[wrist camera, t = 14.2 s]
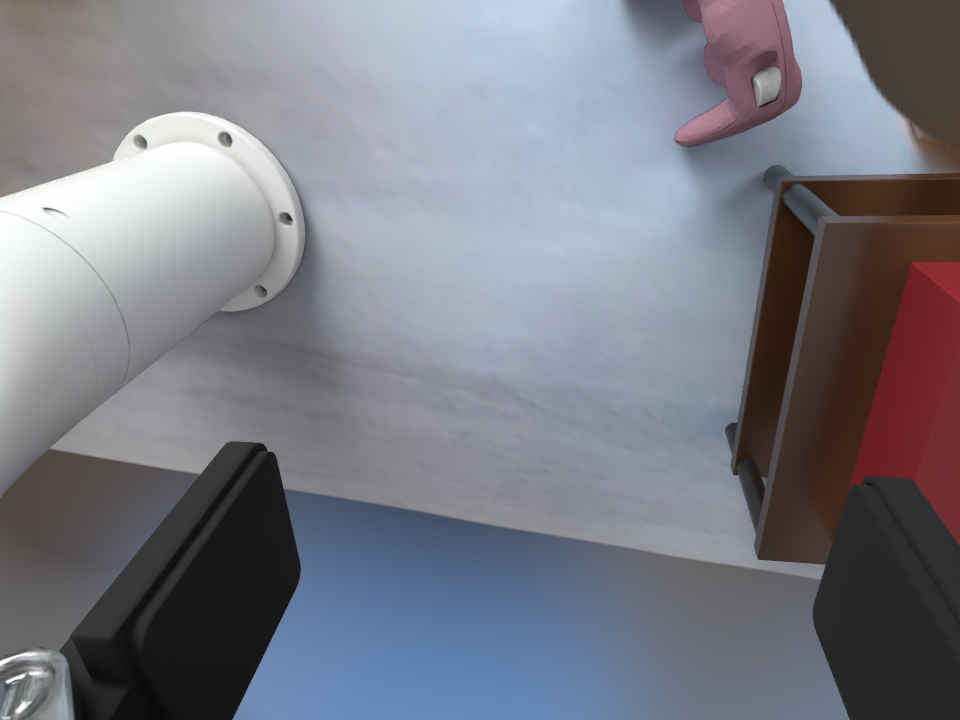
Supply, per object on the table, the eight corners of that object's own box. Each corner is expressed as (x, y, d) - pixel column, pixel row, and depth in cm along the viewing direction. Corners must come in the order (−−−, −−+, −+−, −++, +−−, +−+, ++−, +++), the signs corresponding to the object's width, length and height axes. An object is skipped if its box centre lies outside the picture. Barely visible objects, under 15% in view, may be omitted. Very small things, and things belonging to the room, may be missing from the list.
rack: (722, 438, 43) (762, 577, 33) (763, 163, 35) (836, 232, 24) (953, 448, 41) (1076, 602, 30) (1057, 157, 32) (1279, 230, 22)
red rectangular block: (832, 543, 33) (867, 622, 28) (910, 261, 25) (971, 310, 21) (951, 552, 32) (1004, 634, 28) (1065, 261, 25) (1161, 313, 20)
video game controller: (741, 113, 35) (840, 99, 29) (672, 156, 35) (756, 151, 28) (674, -76, 32) (769, -142, 25) (596, -31, 31) (673, -85, 25)
